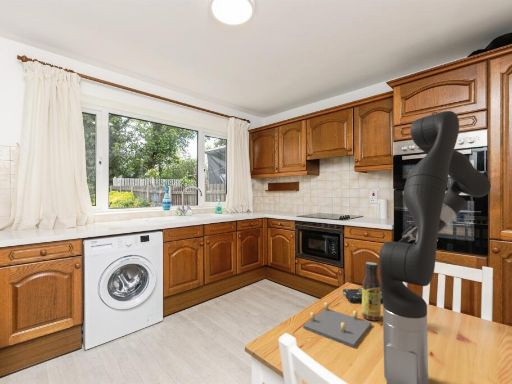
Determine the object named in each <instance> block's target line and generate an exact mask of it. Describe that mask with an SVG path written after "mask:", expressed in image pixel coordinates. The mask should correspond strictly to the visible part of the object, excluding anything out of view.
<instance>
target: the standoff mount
mask: <svg viewBox="0 0 512 384" xmlns="http://www.w3.org/2000/svg"><path fill="white" fill-rule="evenodd" d="M352 311H353V313H352V314H353V315H349V314H346V313H343V312H339V311H336V310H333V309H329V302H328V301H325V302H324V309H322V310H321V311H320V312H319V313H317V314H315V312H313V311H311V312H310V319H309V320H308V321H307V322H306V323H304V324H303V325H302V328H303V329H304V330H306V331H309V332H311V333H314V334H317V335H320V336H322V337H323V338H328V339H330V340H332V341H334V342H337V343H340V344H343V345H345V346H348V347H350V348H353V349H355V347H356V345H358V343H359V342H360V341H361V340H362V338H363V337H364V336H365V334H366V333H367V331H368V330H369V329H370V328H371V327H372V325H373V323H372V321H370V320H367V319H366V320H365V319H361V318H359V316H358V311H357V310H352Z"/></svg>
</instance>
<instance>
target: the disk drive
mask: <svg viewBox="0 0 512 384" xmlns="http://www.w3.org/2000/svg"><path fill="white" fill-rule="evenodd" d="M342 293H344V294H343V296H344V295H345V296H346V297H345V296H344V297H345V298H346V300H347V299H348V300H347V301H348V302H349V304H362V288H357V289H355V288H344V289H342ZM381 304H383V299H382V295H381Z"/></svg>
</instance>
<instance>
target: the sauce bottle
mask: <svg viewBox="0 0 512 384" xmlns="http://www.w3.org/2000/svg"><path fill="white" fill-rule="evenodd" d="M378 265H379V263H377V262H371V261H366V262H365V268H366V269H365V276H364V277H363V279H362V287H361V289H362V303H361V316H362V317H363V318H364V320H365V319H366V320H367V321H371V322H372V321H375V322H376V321H379V320H380V319H381V313H382V311H381V308H382V306H381V304H382V303H381V283H380V279H379V277H378V268H379V266H378Z"/></svg>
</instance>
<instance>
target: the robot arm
mask: <svg viewBox="0 0 512 384" xmlns="http://www.w3.org/2000/svg"><path fill="white" fill-rule="evenodd" d="M459 132H460V119H459V117H458V115H457V113H456V112H454V111H451V110H444V111H440V112H437V113H433V114H430V115H426V116H423V117H421V118H418V119H415V120H414V121H412V123H411V126H410V136H411V140H412V141H413V143H414V145H416V146H417V148H418V149H420V150H421V151H422V152H423V153H424V154H425V156H424V157H423V158H421V159H420V161H418V163H417V164H416V165H415V166H413V168H412V169H411V170H410V172H409V173H408V175H407V177H406V179H405V184H404V188H403V191H402V192H403V194H402V201H403V203H404V205H405V207H406V209H407V211H408V213H409V214H410V216H411V217H412V220H413V222H414V224H415V225H414V224H411V225H410V226H409V227H408V228H407V229H406V230H405V231H403V233H401V236H402V238H401V239H400V240H399V241H391V240H390V241H386V242H385V243H383V244H382V246H381V248H380V251H379V256H378V257H379V260H378V265H379V266H378V268H379V277H380V278H379V283H380V287H381V295H382V299H383V303H382V320H383V321H382V323H383V326H382V328H383V335H382V336H383V375H384V379H385V378H386V379H385V380H387V381H386V384H429V355H428V354H429V352H428V351H429V349H428V347H429V346H428V345H429V344H428V343H429V342H428V305H427V302H426V300H425V299H424V298H423V297H421V296H420V295H419V294H417V293H416V292H414V291H412V290H411V289H409V288H408V287H407V285H406V284H410V285H414V286H419V287H427V286H428V285H430V283H431V282H432V279H433V277H434V274H435V267H436V258H437V257H436V256H437V245H438V237H439V233H440V232H441V231H443V229H444V228H445V227H446V226H448V224H449V223H450V222H451V221H452V220H453V219H454V217H456V215H457V214H459V213H460V212H461V211H462V210H463V208H465V207H466V205H467V201H466V199H465V198H464V197H463V196H461V195H460V194H465V195H468V196H471V197H473V198H483V197H484V196H487V195H488V193H490V191H491V187H492V185H491V182H490V179H488V177H487V176H486V175H485V174H483V173H482V172H481V171H480V170H478V169H477V168H475V166H474V165H473V163H472V162H471V160H470V159H469V158H468V157H467V155H465V154H464V153H462V152H460V151H458V150H456V149H455V147H456V144H457V140H458V137H459ZM448 178H450V179H451V183H450V185H449V186H448V188H447V185H448ZM411 241H414V242H413V243H409V242H411ZM405 283H406V284H405Z"/></svg>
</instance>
